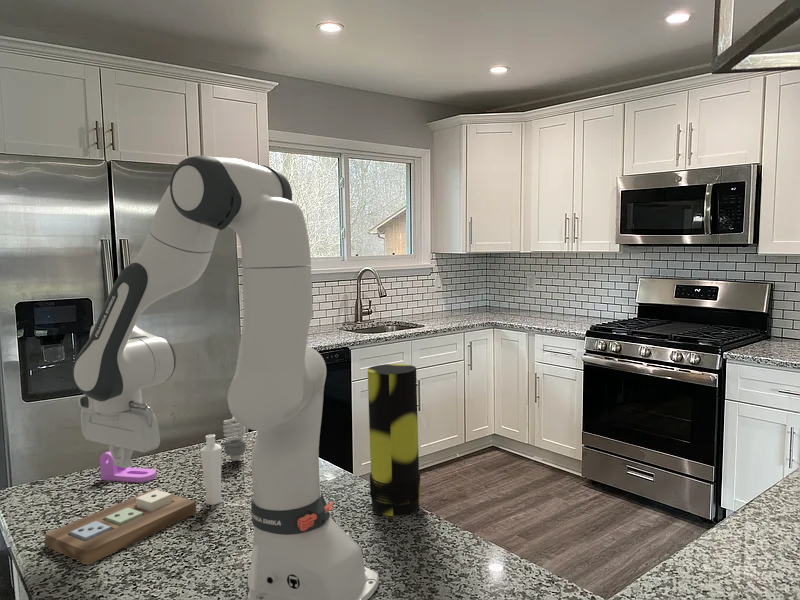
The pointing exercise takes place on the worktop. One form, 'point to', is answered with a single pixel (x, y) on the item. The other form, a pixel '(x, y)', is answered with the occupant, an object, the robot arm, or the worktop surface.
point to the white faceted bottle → (212, 470)
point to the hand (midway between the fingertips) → (122, 466)
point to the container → (393, 439)
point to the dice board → (117, 529)
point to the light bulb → (234, 439)
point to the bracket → (123, 471)
